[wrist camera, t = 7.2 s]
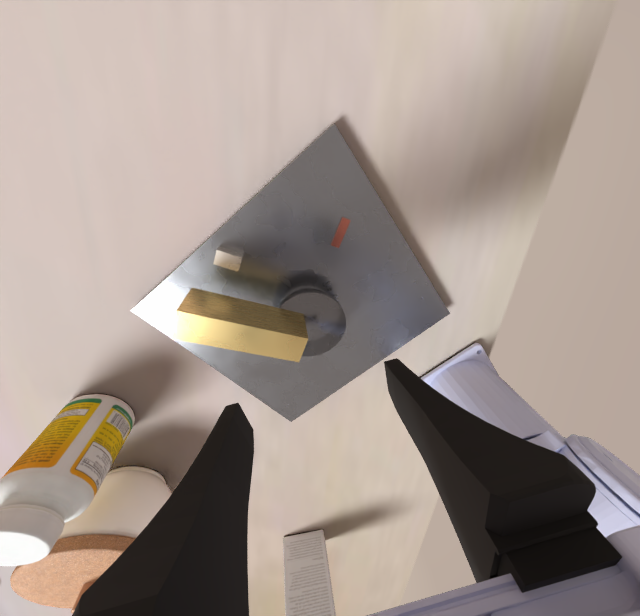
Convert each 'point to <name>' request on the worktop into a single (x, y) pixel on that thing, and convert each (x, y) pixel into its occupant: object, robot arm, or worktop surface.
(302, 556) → the skincare box
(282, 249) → the base plate
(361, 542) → the worktop surface
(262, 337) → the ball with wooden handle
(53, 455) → the supplement bottle
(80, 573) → the lidded jar
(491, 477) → the robot arm
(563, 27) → the worktop surface
